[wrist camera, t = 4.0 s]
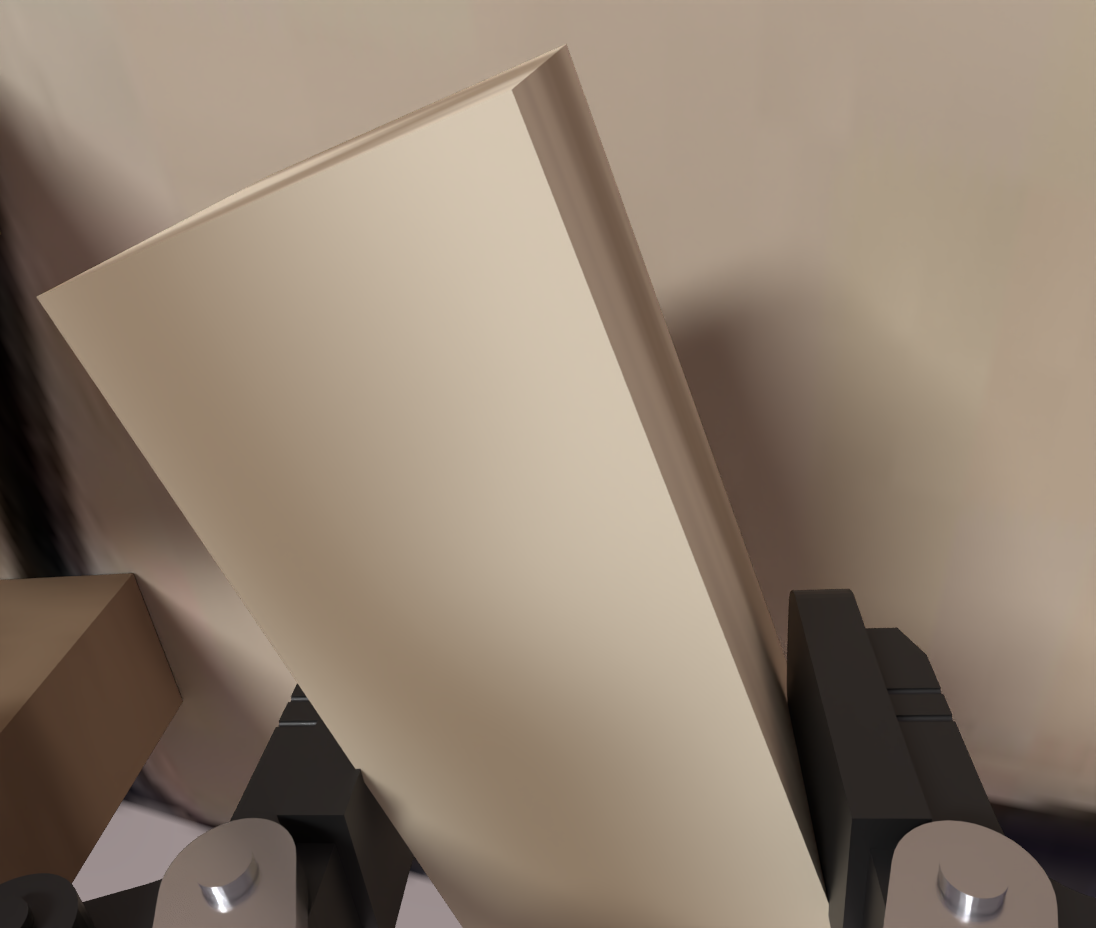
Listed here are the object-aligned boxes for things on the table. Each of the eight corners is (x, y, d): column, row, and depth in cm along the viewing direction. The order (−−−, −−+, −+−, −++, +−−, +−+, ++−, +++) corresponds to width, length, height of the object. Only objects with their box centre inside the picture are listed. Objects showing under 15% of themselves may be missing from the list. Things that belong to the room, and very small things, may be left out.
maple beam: (566, 44, 10) (511, 89, 6) (849, 840, 16) (930, 1164, 12) (272, 174, 11) (35, 297, 7) (639, 878, 17) (640, 1189, 13)
